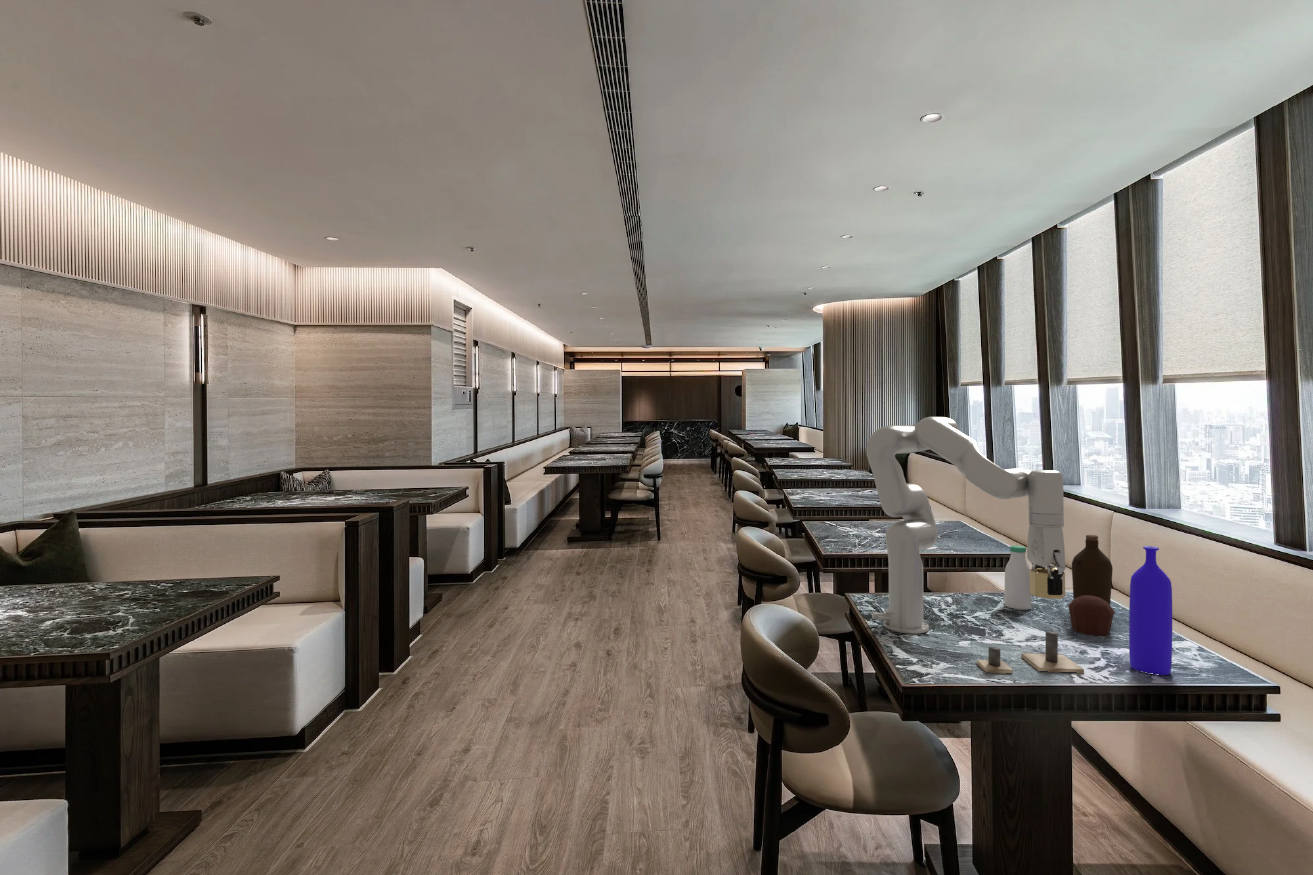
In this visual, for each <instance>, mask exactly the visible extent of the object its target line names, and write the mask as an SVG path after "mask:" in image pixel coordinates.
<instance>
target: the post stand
mask: <svg viewBox="0 0 1313 875" xmlns="http://www.w3.org/2000/svg"><path fill="white" fill-rule="evenodd" d="M1058 634H1059V633H1058V632H1056V631H1049V630H1048V631H1045V653H1026V652H1021V655H1020V656H1021V659H1023V660H1025V661H1026V662H1027V663H1028V664H1029V665H1031V666H1032V667H1033V668H1034V669H1035V670H1037V671H1038V672H1039V671H1048V672H1047V673H1059V672H1077V673H1076V674H1085V668H1083V667H1081V666H1080V665H1079V664H1078V663H1075V662H1074V661H1073V660H1071V659H1070V658H1068V657H1067V656H1066V655H1064V654H1058V653H1059V641H1058V640H1059V635H1058Z"/></svg>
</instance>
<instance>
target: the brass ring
mask: <svg viewBox="0 0 1313 875" xmlns="http://www.w3.org/2000/svg"><path fill="white" fill-rule="evenodd" d="M1054 570H1055V569H1052V572H1053V571H1054ZM1029 573H1030V594H1032V596H1033V597H1037V598H1043V599H1053V600H1054V599H1057V600H1060V599H1061V600H1062V599H1064V598H1066V572H1065V571H1064V574H1063V579H1062V590H1063V594H1062V595H1049V594H1048V593H1047V578H1049V575H1048V571H1047V567H1046V568H1033V569H1032V568H1030V570H1029Z"/></svg>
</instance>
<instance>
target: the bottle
mask: <svg viewBox="0 0 1313 875" xmlns="http://www.w3.org/2000/svg"><path fill="white" fill-rule="evenodd" d="M1142 548H1143V549H1144V550H1145V561H1144V563H1143V565H1142V566H1140V567H1139V568H1138V569H1137V570H1136V571H1134V572H1133V574H1132V575H1131V577H1130V584H1129V604H1128V605H1129V607H1128V608H1129V610H1128V612H1129V613H1128V614H1129V617H1128V618H1129V621H1128V623H1129V625H1128V626H1129V627H1128V630H1129V631H1128V639H1129V640H1128V646H1129V647H1128V648H1129V650H1128V651H1129V664H1130V665H1129V666H1130V667H1131V669H1132V668H1133V670H1134V669H1136V670H1138V671H1143V672H1147V673H1153V674H1159V675H1167V676H1169V675H1170V674H1171V672H1172V662H1173V661H1172V660H1173V588H1172V581H1171V579H1170V578H1169V577H1168V575H1167V574H1166V573H1165V572H1164V570H1162V568H1160V566H1159V565H1158V563H1157V551H1159V550H1160V548H1159V547H1157V546H1153V545H1151V546H1150V545H1145V546H1143V547H1142ZM1136 670H1135V671H1136ZM1138 671H1137V672H1138ZM1168 674H1169V675H1168Z"/></svg>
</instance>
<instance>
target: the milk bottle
mask: <svg viewBox="0 0 1313 875" xmlns="http://www.w3.org/2000/svg"><path fill="white" fill-rule="evenodd" d="M1009 553H1010V556H1009V560H1008V561H1007V563H1006V566H1005V570H1004V606H1005V607H1006V606H1007V607H1006V608H1009V609H1012V608H1013V609H1014V610H1018V611H1019V610H1021V611H1028V610H1031V609H1032V601H1033V600H1032V597H1033V595H1032V594H1030V573H1029V570H1030V569H1031V567H1030V565H1029V563H1028V561H1027V560H1028V559H1027V556H1026V555H1027V546H1023V545H1010V546H1009ZM1013 609H1012V610H1013Z"/></svg>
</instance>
